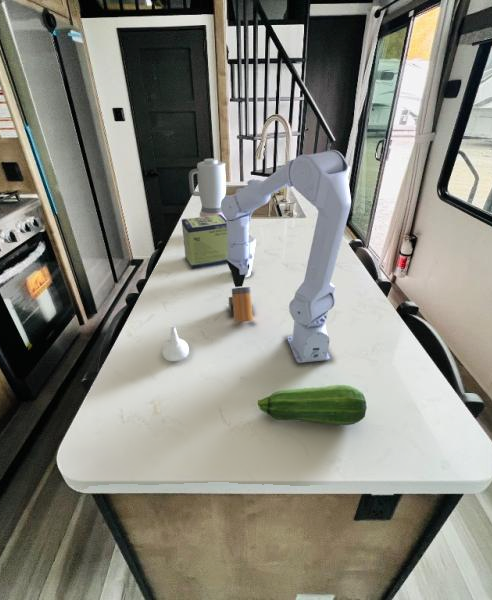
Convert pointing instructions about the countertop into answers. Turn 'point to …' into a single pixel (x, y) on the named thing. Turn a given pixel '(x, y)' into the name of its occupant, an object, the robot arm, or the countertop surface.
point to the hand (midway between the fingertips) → (238, 285)
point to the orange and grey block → (242, 304)
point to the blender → (209, 186)
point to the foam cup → (251, 250)
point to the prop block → (231, 306)
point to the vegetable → (317, 405)
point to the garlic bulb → (175, 347)
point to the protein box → (205, 240)
